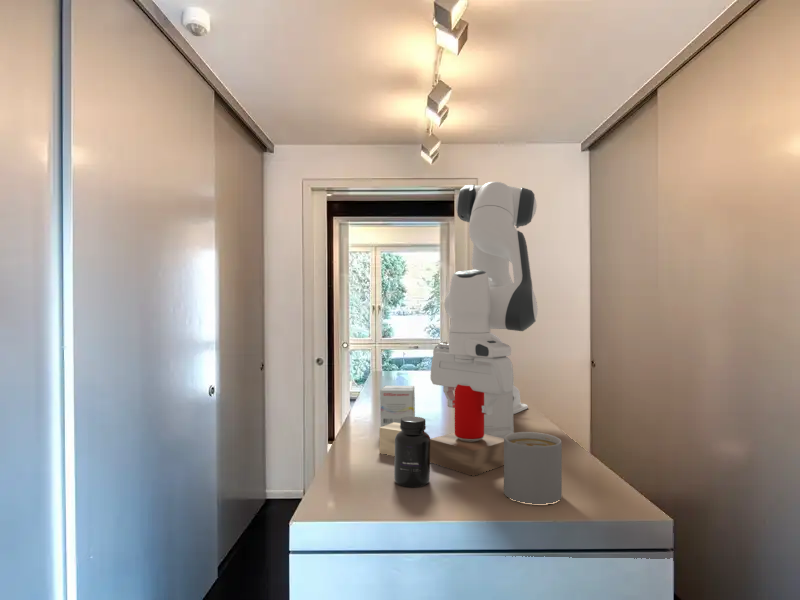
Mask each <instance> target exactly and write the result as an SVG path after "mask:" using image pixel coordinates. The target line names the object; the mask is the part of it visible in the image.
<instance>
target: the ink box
mask: <svg viewBox="0 0 800 600" xmlns="http://www.w3.org/2000/svg"><path fill="white" fill-rule="evenodd" d="M379 393H380V395H379V398H380V399H379V400H380V401H379V402H380V404H379V405H380V407H379V408H380V427H383V426H385V425H388V424H391V423H394V422H395V423H400V420H401V418H403V417H416V416H415V415H416V414H415V413H416V410H415V409H416V403H415V399H416V398H415V385H384V386H383V387H382V388H380V390H379Z"/></svg>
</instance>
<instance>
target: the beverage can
mask: <svg viewBox="0 0 800 600" xmlns="http://www.w3.org/2000/svg"><path fill="white" fill-rule="evenodd" d="M454 397H455V408H454V433H455V435H456V437H457V438H459V439H460V440H462V441H465V442H476V441H479V440H480V439H482V438H483V437H484V414H482V405H484V392H478V391H473V390H472V388H471V387H470V386H469V385H467V384H461V383H459V384H458V385H457V386H456V388H454Z"/></svg>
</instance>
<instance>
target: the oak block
mask: <svg viewBox="0 0 800 600" xmlns="http://www.w3.org/2000/svg"><path fill="white" fill-rule="evenodd" d="M400 431H401V429H400V423H395V422H394V423H391V424H388V425H385V426H383V427H381V426H380V427H379V453H381V454H380V455H383V454H387V455H386V456H388V455H392V456H391V457H394V456H395V437H396V435H397V434H398V433H399V432H400Z"/></svg>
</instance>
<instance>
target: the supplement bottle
mask: <svg viewBox="0 0 800 600" xmlns="http://www.w3.org/2000/svg"><path fill="white" fill-rule="evenodd" d="M426 423H427V422H426V418H424V417H420V416H415V417H403V418H401V420H400V429H401V431H400V432H399V433H398V434H397V435H396V437H395V457H394V462H393V463H394V469H393V470H394V471H393V473H394V474H393V475H394V476H393V479H394V482H395V483H396V484H397V485H399V486H400V487H401V486H402V487H406V488H420V487H423V486H426V485H428V483H430V478H431V477H430V476H431V463H430V439H431V437H430V435H429V434H428V433H427V432H426V427H427V426H426Z"/></svg>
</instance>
